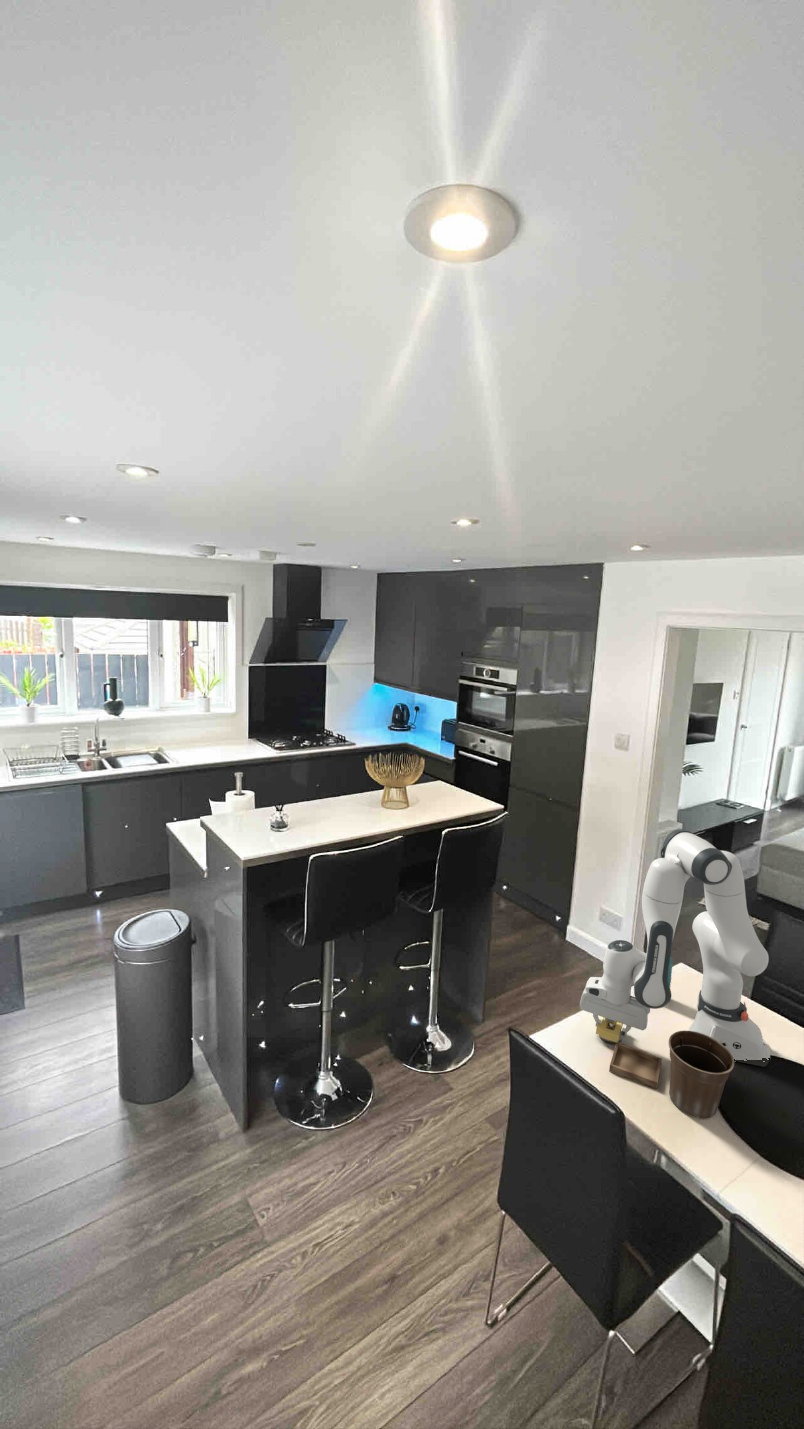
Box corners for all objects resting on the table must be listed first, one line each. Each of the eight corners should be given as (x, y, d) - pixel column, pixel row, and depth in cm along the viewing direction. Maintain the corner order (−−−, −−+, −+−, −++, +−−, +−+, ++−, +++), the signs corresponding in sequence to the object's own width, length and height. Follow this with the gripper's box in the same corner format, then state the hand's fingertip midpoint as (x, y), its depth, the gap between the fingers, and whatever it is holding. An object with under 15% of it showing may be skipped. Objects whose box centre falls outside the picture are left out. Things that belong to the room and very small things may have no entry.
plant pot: (736, 1107, 170) (745, 1055, 167) (709, 1137, 160) (717, 1082, 157) (679, 1071, 183) (686, 1022, 180) (650, 1097, 173) (657, 1046, 170)
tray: (661, 1064, 185) (661, 1058, 184) (656, 1089, 175) (657, 1082, 175) (615, 1048, 191) (616, 1042, 190) (609, 1071, 181) (609, 1064, 181)
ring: (622, 1025, 198) (623, 1018, 198) (617, 1043, 190) (618, 1035, 190) (600, 1018, 202) (601, 1011, 201) (595, 1035, 194) (596, 1027, 193)
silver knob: (623, 1034, 197) (625, 1017, 196) (619, 1047, 191) (621, 1030, 190) (601, 1026, 201) (602, 1009, 199) (596, 1039, 195) (598, 1021, 193)
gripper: (652, 996, 191) (647, 1036, 193) (585, 975, 200) (581, 1013, 203) (649, 1008, 185) (644, 1048, 188) (580, 985, 195) (576, 1025, 197)
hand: (611, 1030), depth 196 cm, fingers open, 6 cm apart
